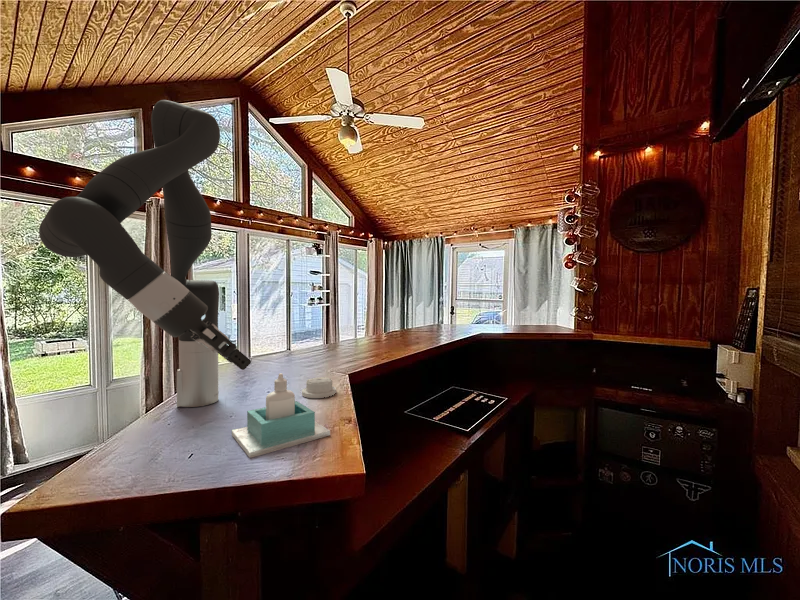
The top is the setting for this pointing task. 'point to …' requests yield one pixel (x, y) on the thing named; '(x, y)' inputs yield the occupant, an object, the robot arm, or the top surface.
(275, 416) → the eye dropper bottle
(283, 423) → the tray
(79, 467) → the top surface
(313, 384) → the mechanical component
